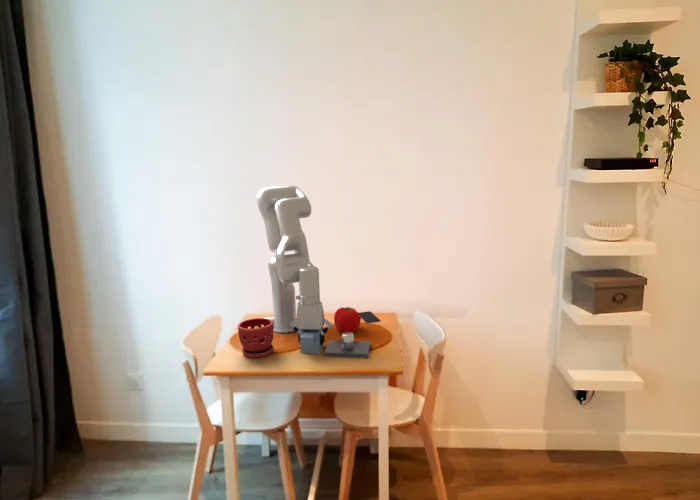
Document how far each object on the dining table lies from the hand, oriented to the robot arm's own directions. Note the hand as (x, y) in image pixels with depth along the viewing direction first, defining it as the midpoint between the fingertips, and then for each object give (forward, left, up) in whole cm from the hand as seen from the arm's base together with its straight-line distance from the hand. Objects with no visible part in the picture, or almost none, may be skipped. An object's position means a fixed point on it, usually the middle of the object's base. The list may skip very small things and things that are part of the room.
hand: (311, 343), depth 195 cm
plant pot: (-20, -5, -3) cm, 21 cm away
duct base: (+14, 0, -2) cm, 14 cm away
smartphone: (+18, +37, -3) cm, 41 cm away
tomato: (+11, +20, -3) cm, 23 cm away
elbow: (0, -2, -3) cm, 3 cm away
